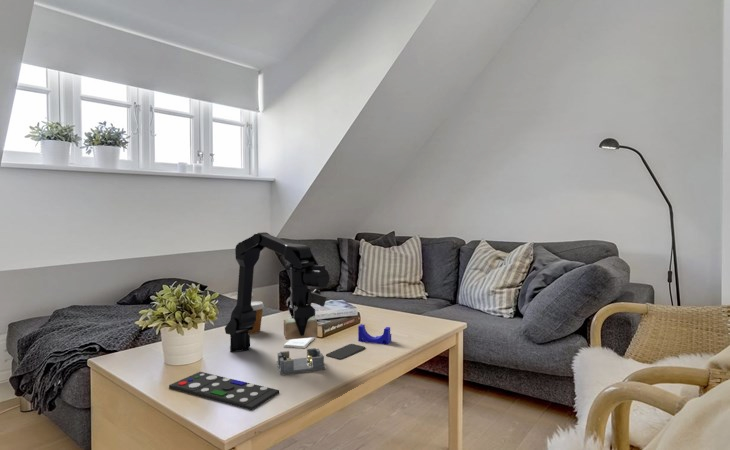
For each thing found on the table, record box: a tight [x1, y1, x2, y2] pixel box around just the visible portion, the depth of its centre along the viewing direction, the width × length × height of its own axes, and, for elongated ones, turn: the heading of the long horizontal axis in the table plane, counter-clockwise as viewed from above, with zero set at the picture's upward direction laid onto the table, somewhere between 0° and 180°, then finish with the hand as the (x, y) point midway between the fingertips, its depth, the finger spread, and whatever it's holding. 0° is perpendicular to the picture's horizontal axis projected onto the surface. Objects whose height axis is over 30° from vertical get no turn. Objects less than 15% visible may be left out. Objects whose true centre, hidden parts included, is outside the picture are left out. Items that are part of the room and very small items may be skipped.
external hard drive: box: [283, 337, 316, 349], centre depth 161 cm, size 2×8×12 cm
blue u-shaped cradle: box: [357, 323, 392, 345], centre depth 163 cm, size 12×4×6 cm, turn 70°
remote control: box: [168, 371, 280, 411], centre depth 118 cm, size 11×30×2 cm, turn 64°
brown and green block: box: [283, 316, 319, 341], centre depth 136 cm, size 10×6×5 cm, turn 107°
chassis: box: [276, 347, 326, 376], centre depth 136 cm, size 14×10×4 cm
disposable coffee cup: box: [248, 300, 265, 335], centre depth 176 cm, size 10×10×12 cm
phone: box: [325, 343, 366, 360], centre depth 151 cm, size 7×1×15 cm
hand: (300, 332), depth 136 cm, fingers closed on brown and green block, 6 cm apart
